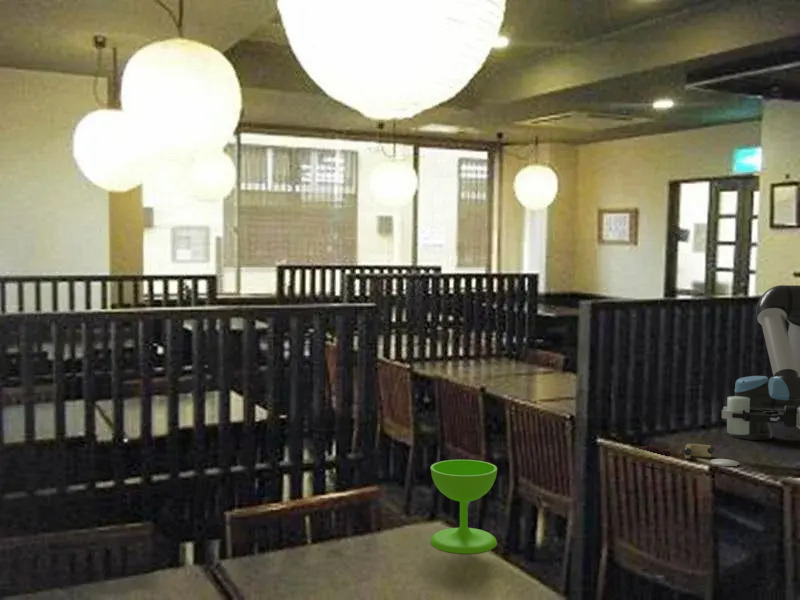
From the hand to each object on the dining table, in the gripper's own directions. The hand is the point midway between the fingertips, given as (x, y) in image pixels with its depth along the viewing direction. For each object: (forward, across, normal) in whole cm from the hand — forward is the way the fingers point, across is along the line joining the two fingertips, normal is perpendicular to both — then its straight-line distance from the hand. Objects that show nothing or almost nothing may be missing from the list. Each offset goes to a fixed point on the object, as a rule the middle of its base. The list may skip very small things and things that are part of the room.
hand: (722, 412), depth 270 cm
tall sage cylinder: (-5, 0, -7) cm, 8 cm away
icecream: (+21, -19, -16) cm, 33 cm away
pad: (-1, -8, -16) cm, 18 cm away
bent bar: (+7, -3, -16) cm, 18 cm away
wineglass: (+50, -117, -16) cm, 128 cm away
